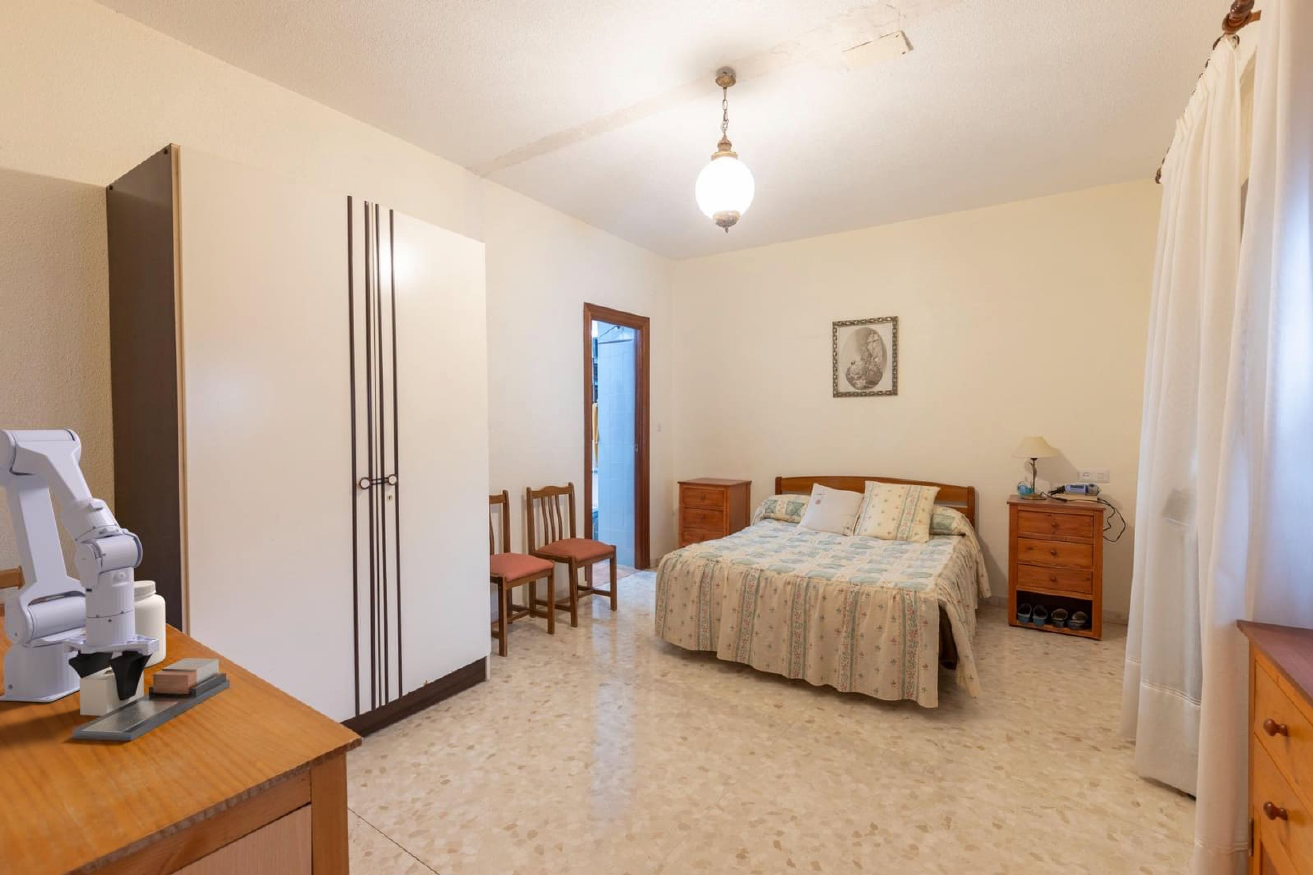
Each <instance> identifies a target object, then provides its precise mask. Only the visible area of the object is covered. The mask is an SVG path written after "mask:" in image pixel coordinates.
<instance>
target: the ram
mask: <svg viewBox="0 0 1313 875" xmlns="http://www.w3.org/2000/svg"><path fill="white" fill-rule="evenodd" d="M219 660H220V659H219V658H199V657H197V658H196V657H195V658H194V657H185V658H182V659H180V660H178V661H176V662H174V663H172V664H170V665H167V666H165V667H163V668H162V669H161V670H160V671H156V672H154V673H153V674H152V683H153V684H152V685H153V689H154V693H176V694H189V693H191V689H192V688H194V687H196V686H198V685H200V684H201V683H203V682H205V681H207V680H209V679H211V678H213V677H215V676H217V675H219V674H220V669H219V668H220V666H219V664H220V663H219V662H220V661H219Z"/></svg>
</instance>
